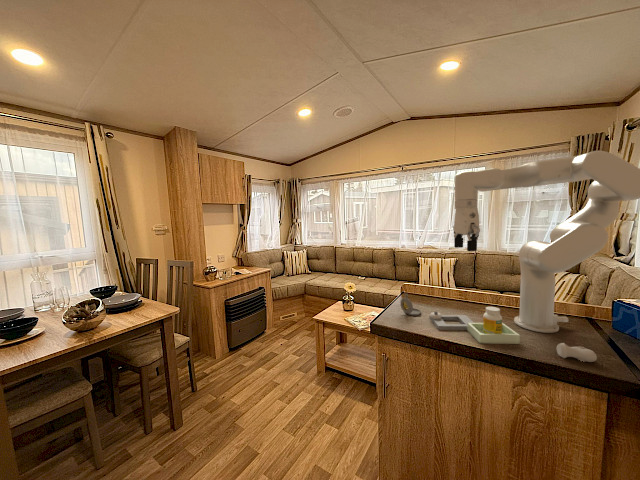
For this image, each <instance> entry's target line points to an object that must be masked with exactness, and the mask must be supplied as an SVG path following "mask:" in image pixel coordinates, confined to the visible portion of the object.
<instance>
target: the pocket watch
mask: <svg viewBox="0 0 640 480" xmlns="http://www.w3.org/2000/svg"><path fill="white" fill-rule="evenodd" d="M404 296H405V297H403V298H401V299H400V308H401V309H402V311H403V312H404V313H405V314H407V315H409V316H420V315H421V314H422V311H421V310H420V309H419V308H418V309H417V308H414V306H413V302H412V301H411V300H410V299H409V298H408V297H409V294H408V293H406V292H404Z"/></svg>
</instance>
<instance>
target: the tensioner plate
mask: <svg viewBox="0 0 640 480" xmlns="http://www.w3.org/2000/svg"><path fill="white" fill-rule="evenodd" d="M429 319H430V322H432V324H433V326H435V327H436V329H437V330H438V331H467V323H475V322H474V321H473V320H472V319H471V318H470V317H469V316H467V315H466V314H442V313H440V312H439V311H433V312H430V315H429ZM445 321H458V322H459V324H456V323H455V324H454V323H453V324H452V323H451V324H449V323H446V322H445ZM460 323H461V324H460Z"/></svg>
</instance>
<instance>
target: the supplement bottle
mask: <svg viewBox="0 0 640 480" xmlns="http://www.w3.org/2000/svg"><path fill="white" fill-rule="evenodd" d="M482 319H483V321H482V323H483V333H484V334H502V323H503V316H502V315H501V309H500V308H499V307H495V306H486V307H485V312H484V313H483V318H482Z"/></svg>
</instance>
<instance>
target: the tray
mask: <svg viewBox="0 0 640 480" xmlns="http://www.w3.org/2000/svg"><path fill="white" fill-rule="evenodd" d="M466 331H467V332H468V333H469V334H470V335H471V336H472V337H473V338H474V339H475V340H476V341H477V342H478V343H479V344H491V345H493V344H499V345H500V344H503V345H504V344H505V345H507V344H508V345H511V344H512V345H514V344H515V345H519V344H520V343H521V342H520V341H521V340H520V338H521V335H520V334H519V333H517V332H516V331H515V330H514V329H512V328H511V327H509V326H508V325H507V324H505V323H503V322H502V334H484V333H483V322H474V323H467V330H466Z"/></svg>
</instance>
